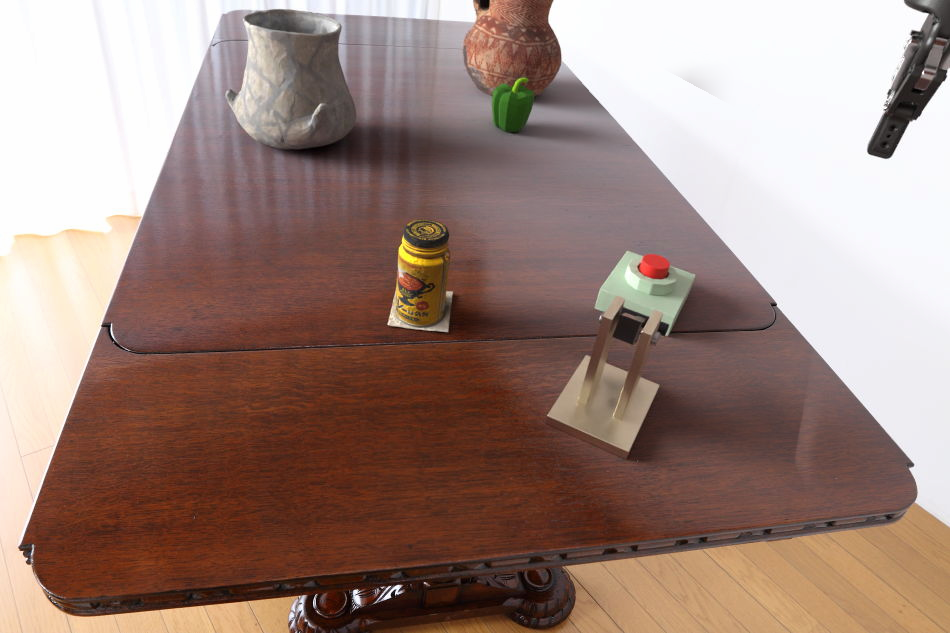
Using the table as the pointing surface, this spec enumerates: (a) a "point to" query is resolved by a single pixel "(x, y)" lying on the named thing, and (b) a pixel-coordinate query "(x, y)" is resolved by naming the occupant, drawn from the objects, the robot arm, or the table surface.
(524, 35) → the jug
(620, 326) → the lever
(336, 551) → the table surface
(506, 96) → the bell pepper
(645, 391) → the bracket
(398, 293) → the condiment
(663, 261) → the stop button
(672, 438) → the table surface
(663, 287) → the stop block
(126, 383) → the table surface
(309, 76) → the vessel
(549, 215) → the table surface
